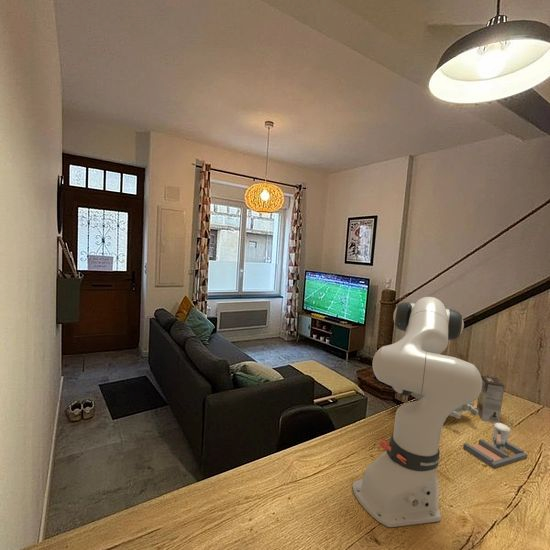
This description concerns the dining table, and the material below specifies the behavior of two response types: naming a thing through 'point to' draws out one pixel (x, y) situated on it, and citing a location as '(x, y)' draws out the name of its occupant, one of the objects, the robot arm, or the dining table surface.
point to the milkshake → (501, 435)
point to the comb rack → (494, 453)
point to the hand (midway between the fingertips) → (468, 414)
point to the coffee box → (490, 399)
